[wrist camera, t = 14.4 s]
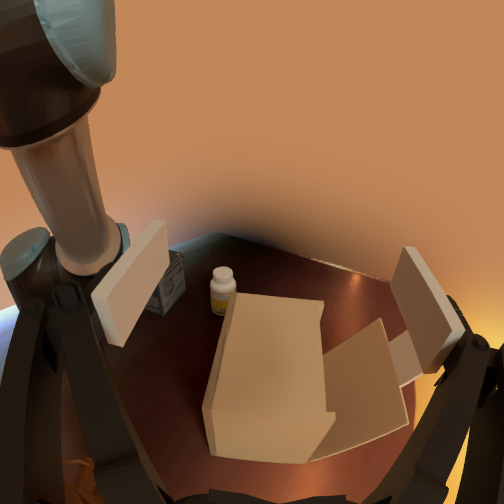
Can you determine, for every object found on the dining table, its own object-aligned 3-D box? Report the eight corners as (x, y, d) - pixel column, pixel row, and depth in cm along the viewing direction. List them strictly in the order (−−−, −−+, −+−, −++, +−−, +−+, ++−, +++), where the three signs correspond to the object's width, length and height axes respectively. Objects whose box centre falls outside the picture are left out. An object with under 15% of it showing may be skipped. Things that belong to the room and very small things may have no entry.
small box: (165, 283, 70) (160, 246, 65) (187, 290, 69) (184, 252, 63) (140, 308, 62) (132, 270, 56) (164, 317, 60) (157, 278, 55)
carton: (210, 454, 35) (201, 408, 27) (230, 358, 52) (231, 291, 44) (304, 463, 34) (335, 419, 26) (305, 365, 51) (323, 301, 43)
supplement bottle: (222, 297, 67) (222, 261, 62) (240, 308, 65) (242, 271, 60) (205, 308, 64) (204, 272, 59) (223, 320, 61) (223, 283, 56)
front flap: (309, 461, 34) (478, 380, 22) (308, 363, 51) (427, 280, 39) (311, 461, 34) (479, 382, 22) (310, 365, 51) (429, 282, 39)
